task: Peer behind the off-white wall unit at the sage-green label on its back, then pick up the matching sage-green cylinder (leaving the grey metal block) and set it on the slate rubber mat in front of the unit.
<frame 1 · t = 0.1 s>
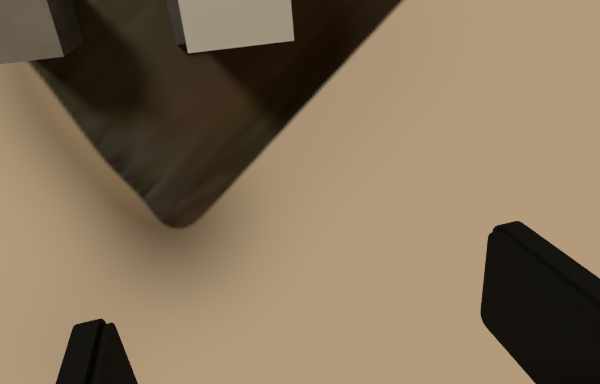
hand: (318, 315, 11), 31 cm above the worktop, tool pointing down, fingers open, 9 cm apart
metal block: (44, 15, 34), on the worktop
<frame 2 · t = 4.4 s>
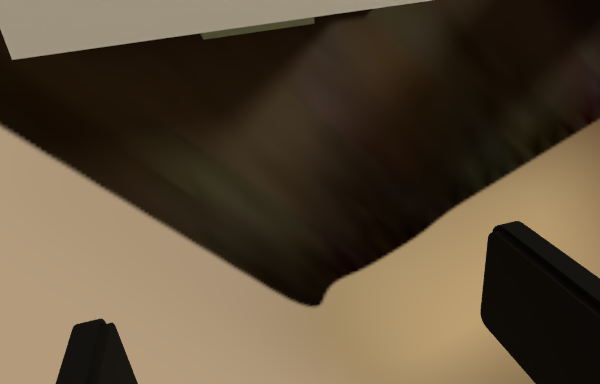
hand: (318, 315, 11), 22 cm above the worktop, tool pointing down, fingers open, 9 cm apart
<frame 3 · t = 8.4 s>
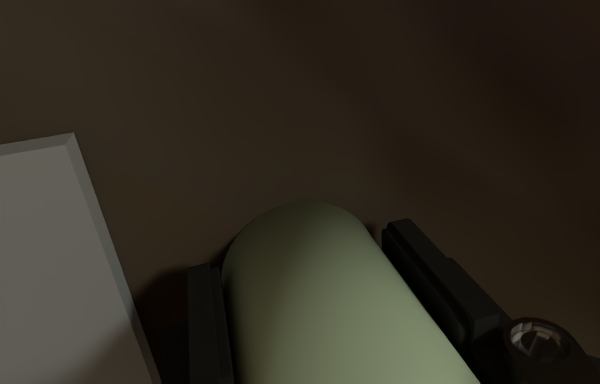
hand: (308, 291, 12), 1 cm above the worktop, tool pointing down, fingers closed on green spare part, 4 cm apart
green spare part: (300, 271, 13), on the worktop, touching gripper
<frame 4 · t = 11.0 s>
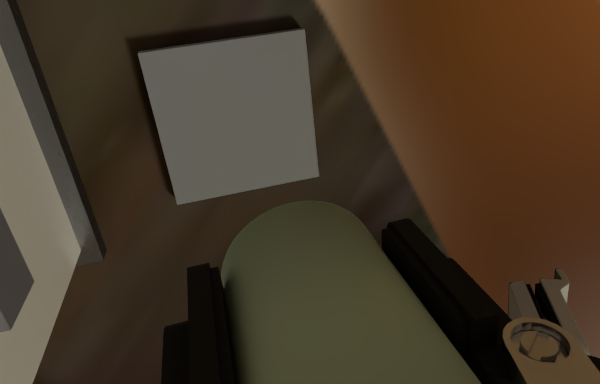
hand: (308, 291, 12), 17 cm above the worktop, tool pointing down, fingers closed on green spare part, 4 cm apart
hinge: (515, 343, 43), on the worktop
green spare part: (300, 271, 13), point 16 cm above the worktop, touching gripper
slate mat: (236, 117, 27), on the worktop
when the fingers open (3 cm above the worktop, at t = 13.7 s): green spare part drops 2 cm, resting on slate mat.
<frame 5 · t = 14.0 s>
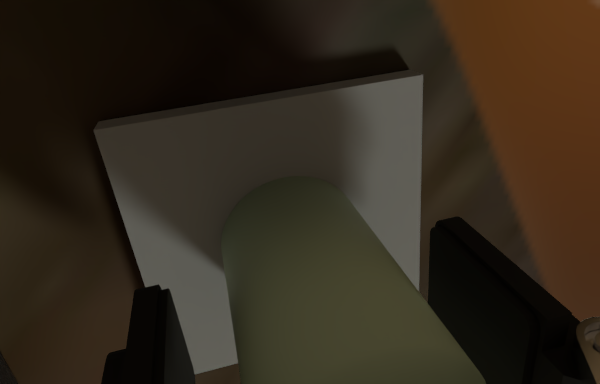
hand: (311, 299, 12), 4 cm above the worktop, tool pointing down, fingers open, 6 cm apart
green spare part: (291, 240, 14), point 1 cm above the worktop, touching slate mat
slate mat: (282, 228, 15), on the worktop
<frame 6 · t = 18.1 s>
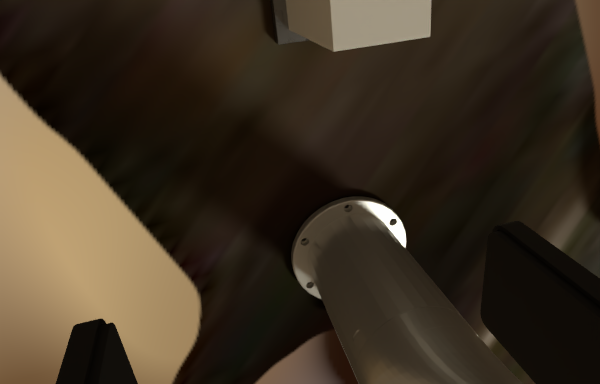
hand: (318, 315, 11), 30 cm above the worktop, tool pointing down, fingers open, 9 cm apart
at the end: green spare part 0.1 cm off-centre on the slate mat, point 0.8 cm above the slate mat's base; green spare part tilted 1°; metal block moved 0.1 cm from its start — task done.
